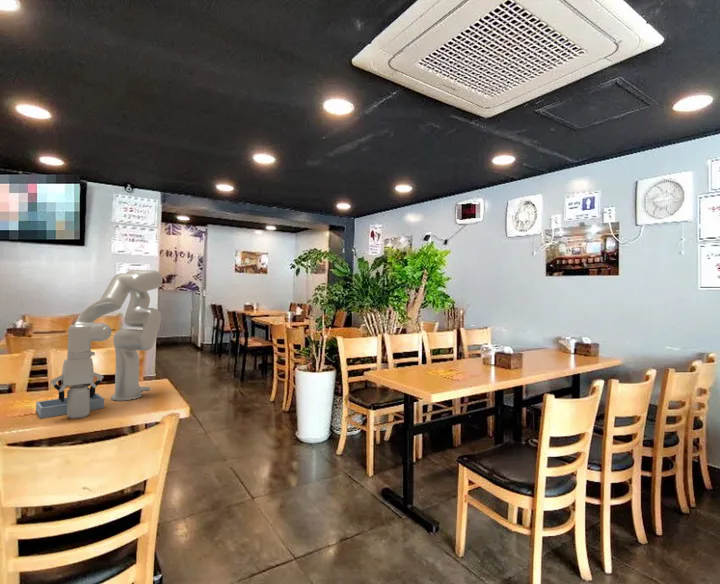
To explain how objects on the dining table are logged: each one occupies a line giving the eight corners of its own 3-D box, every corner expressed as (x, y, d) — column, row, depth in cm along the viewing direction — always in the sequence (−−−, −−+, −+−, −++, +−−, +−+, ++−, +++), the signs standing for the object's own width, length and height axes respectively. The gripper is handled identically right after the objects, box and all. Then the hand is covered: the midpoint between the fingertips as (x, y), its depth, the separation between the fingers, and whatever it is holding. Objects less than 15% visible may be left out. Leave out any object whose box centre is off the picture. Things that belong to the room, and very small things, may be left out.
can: (84, 419, 158) (84, 388, 158) (62, 419, 157) (63, 388, 157) (93, 413, 166) (93, 383, 165) (72, 413, 164) (73, 384, 164)
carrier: (97, 402, 181) (97, 393, 180) (104, 407, 173) (104, 398, 173) (36, 411, 165) (36, 401, 165) (40, 418, 158) (40, 408, 157)
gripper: (101, 353, 170) (100, 394, 169) (50, 356, 157) (48, 400, 157) (106, 355, 164) (104, 397, 164) (53, 358, 152) (51, 404, 152)
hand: (77, 399), depth 161 cm, fingers open, 9 cm apart
